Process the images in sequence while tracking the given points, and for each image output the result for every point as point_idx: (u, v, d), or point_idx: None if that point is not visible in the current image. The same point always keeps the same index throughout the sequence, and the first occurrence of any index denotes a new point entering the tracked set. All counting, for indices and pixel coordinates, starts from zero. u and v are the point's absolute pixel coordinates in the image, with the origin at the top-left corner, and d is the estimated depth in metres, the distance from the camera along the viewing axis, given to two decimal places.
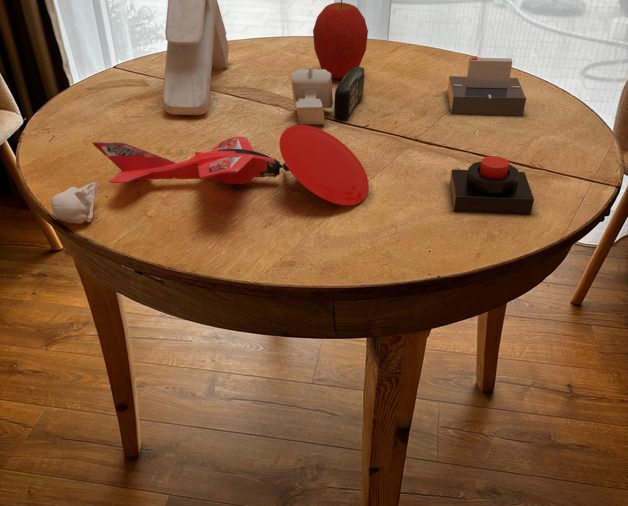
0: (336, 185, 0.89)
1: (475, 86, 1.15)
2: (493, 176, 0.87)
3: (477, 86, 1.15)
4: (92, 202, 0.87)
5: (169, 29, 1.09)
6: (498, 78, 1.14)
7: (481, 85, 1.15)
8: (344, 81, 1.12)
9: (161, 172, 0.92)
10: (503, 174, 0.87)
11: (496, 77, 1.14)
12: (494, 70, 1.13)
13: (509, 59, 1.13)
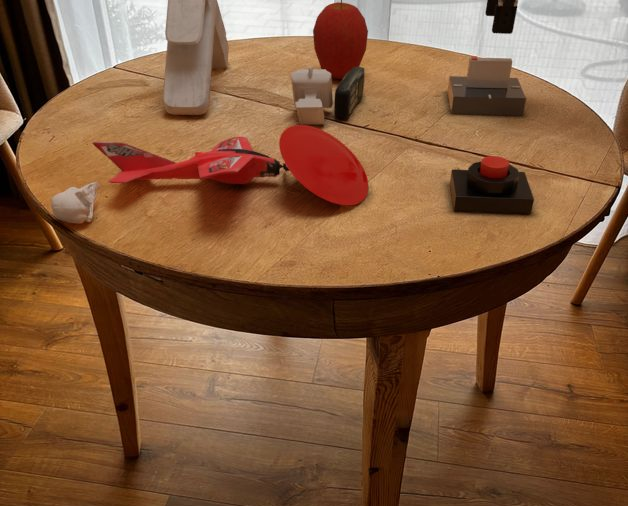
0: (336, 185, 0.89)
1: (475, 86, 1.15)
2: (493, 176, 0.87)
3: (477, 86, 1.15)
4: (92, 202, 0.87)
5: (169, 29, 1.09)
6: (498, 78, 1.14)
7: (481, 85, 1.15)
8: (344, 81, 1.12)
9: (161, 172, 0.92)
10: (503, 174, 0.87)
11: (496, 77, 1.14)
12: (494, 70, 1.13)
13: (509, 59, 1.13)
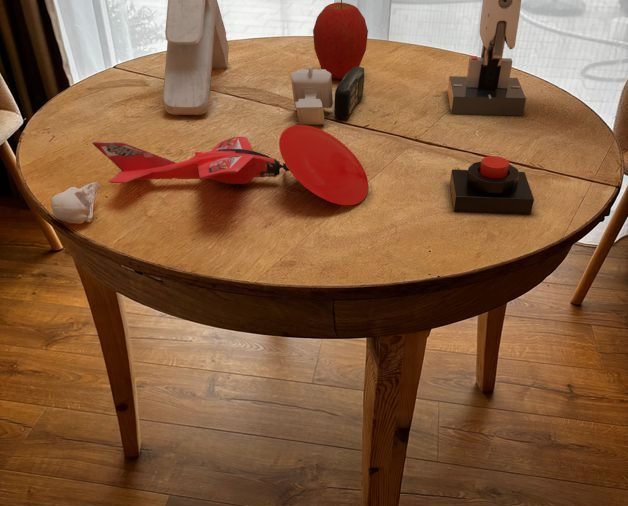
0: (336, 185, 0.89)
1: (475, 86, 1.15)
2: (493, 176, 0.87)
3: (477, 86, 1.15)
4: (92, 202, 0.87)
5: (169, 29, 1.09)
6: None
7: None
8: (344, 81, 1.12)
9: (161, 172, 0.92)
10: (503, 174, 0.87)
11: None
12: None
13: (509, 59, 1.13)
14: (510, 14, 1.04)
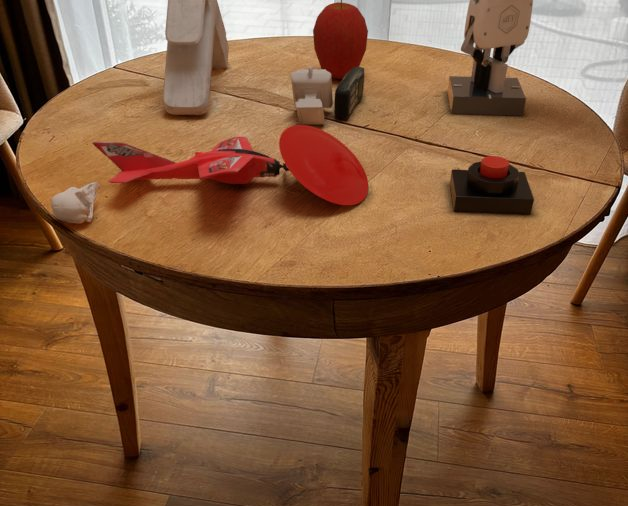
0: (336, 185, 0.89)
1: None
2: (493, 176, 0.87)
3: None
4: (92, 202, 0.87)
5: (169, 29, 1.09)
6: (490, 80, 1.13)
7: None
8: (344, 81, 1.12)
9: (161, 172, 0.92)
10: (503, 174, 0.87)
11: (489, 79, 1.13)
12: None
13: (503, 64, 1.11)
14: (477, 11, 1.05)
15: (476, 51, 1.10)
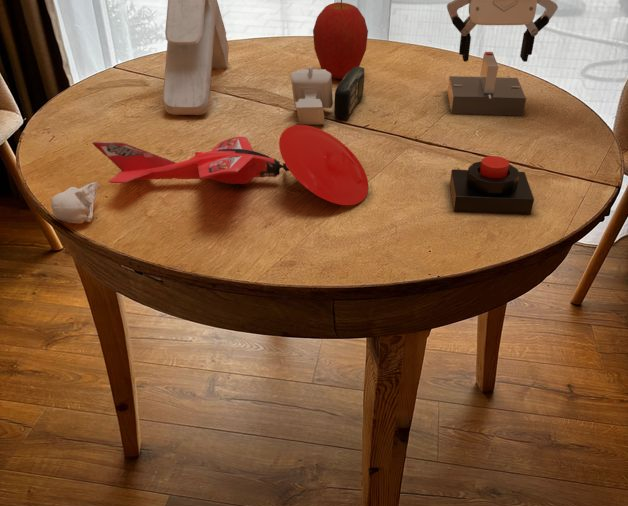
0: (336, 185, 0.89)
1: None
2: (493, 176, 0.87)
3: (481, 81, 1.17)
4: (92, 202, 0.87)
5: (169, 29, 1.09)
6: (484, 79, 1.13)
7: (481, 81, 1.16)
8: (344, 81, 1.12)
9: (161, 172, 0.92)
10: (503, 174, 0.87)
11: (484, 78, 1.14)
12: (485, 70, 1.13)
13: (493, 65, 1.10)
14: None
15: (454, 18, 1.08)
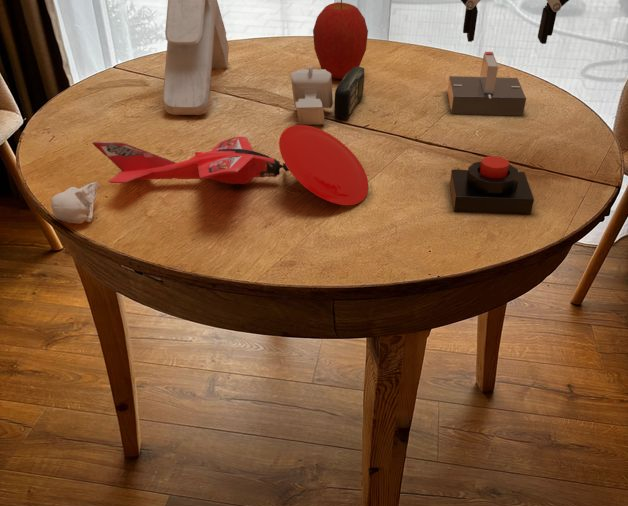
0: (336, 185, 0.89)
1: None
2: (493, 176, 0.87)
3: (481, 81, 1.17)
4: (92, 202, 0.87)
5: (169, 29, 1.09)
6: (484, 79, 1.13)
7: (481, 81, 1.16)
8: (344, 81, 1.12)
9: (161, 172, 0.92)
10: (503, 174, 0.87)
11: (484, 78, 1.14)
12: (485, 70, 1.13)
13: (493, 65, 1.10)
14: None
15: None
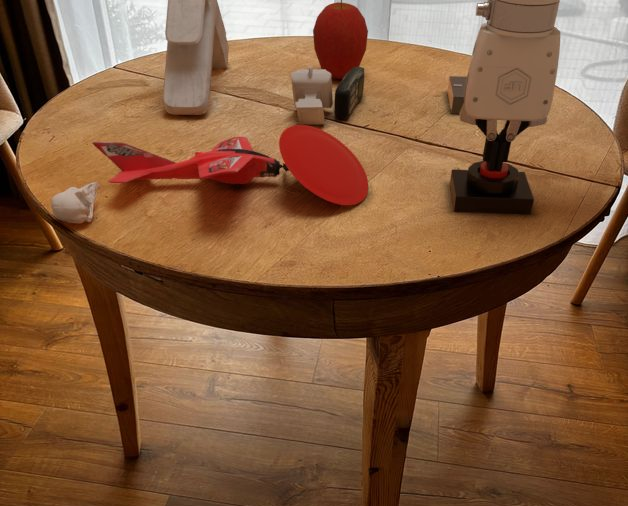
0: (336, 185, 0.89)
1: None
2: None
3: None
4: (92, 202, 0.87)
5: (169, 29, 1.09)
6: None
7: None
8: (344, 81, 1.12)
9: (161, 172, 0.92)
10: None
11: None
12: None
13: None
14: (470, 68, 0.80)
15: (478, 119, 0.84)
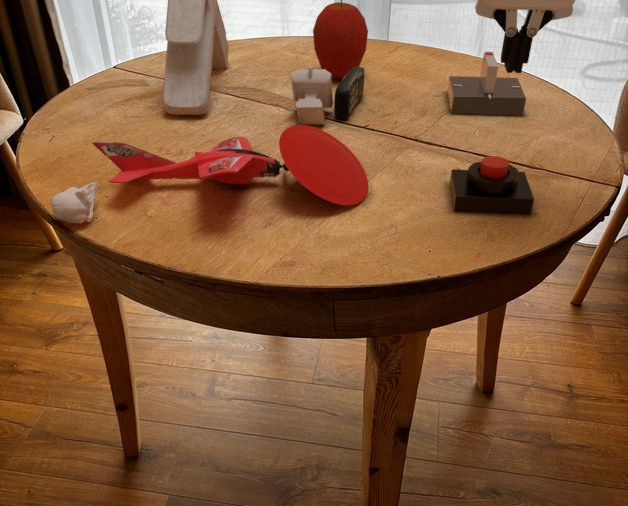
0: (336, 185, 0.89)
1: None
2: (493, 176, 0.87)
3: (481, 81, 1.17)
4: (92, 202, 0.87)
5: (169, 29, 1.09)
6: (484, 79, 1.13)
7: (481, 81, 1.16)
8: (344, 81, 1.12)
9: (161, 172, 0.92)
10: (503, 174, 0.87)
11: (484, 78, 1.14)
12: (485, 70, 1.13)
13: (493, 65, 1.10)
14: None
15: (496, 11, 0.76)
